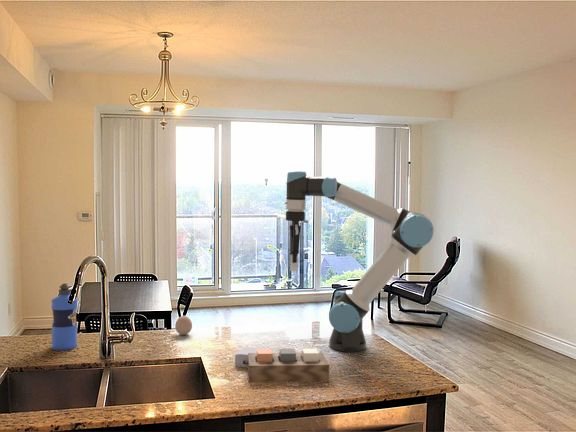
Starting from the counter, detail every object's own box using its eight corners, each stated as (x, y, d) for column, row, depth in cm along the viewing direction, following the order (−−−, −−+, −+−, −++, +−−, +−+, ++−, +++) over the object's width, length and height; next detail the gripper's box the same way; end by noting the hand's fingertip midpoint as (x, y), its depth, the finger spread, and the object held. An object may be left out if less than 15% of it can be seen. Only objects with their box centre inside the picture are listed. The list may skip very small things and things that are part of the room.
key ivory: (316, 365, 183) (316, 348, 183) (318, 370, 178) (319, 353, 178) (301, 365, 183) (302, 348, 183) (303, 370, 178) (304, 353, 177)
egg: (184, 338, 219) (184, 318, 219) (171, 335, 223) (171, 316, 222) (195, 334, 225) (195, 315, 225) (182, 331, 229) (183, 312, 229)
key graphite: (293, 365, 183) (294, 348, 182) (295, 370, 177) (296, 353, 177) (279, 365, 182) (279, 348, 182) (280, 370, 177) (280, 353, 177)
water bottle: (80, 343, 208) (81, 282, 207) (71, 350, 199) (72, 286, 197) (57, 343, 208) (57, 281, 206) (47, 350, 198) (47, 285, 197)
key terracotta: (271, 365, 182) (271, 348, 181) (272, 370, 177) (272, 353, 176) (256, 365, 181) (256, 348, 181) (257, 371, 176) (257, 353, 176)
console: (322, 367, 188) (322, 352, 187) (328, 380, 175) (329, 364, 175) (247, 368, 185) (247, 353, 184) (248, 381, 172) (249, 365, 172)
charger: (268, 355, 200) (259, 368, 185) (245, 353, 202) (234, 366, 187) (269, 343, 200) (259, 355, 185) (245, 341, 201) (235, 353, 187)
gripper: (284, 209, 208) (282, 267, 209) (287, 211, 195) (286, 273, 196) (302, 210, 209) (301, 268, 210) (307, 211, 196) (305, 273, 197)
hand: (293, 270), depth 203 cm, fingers closed
